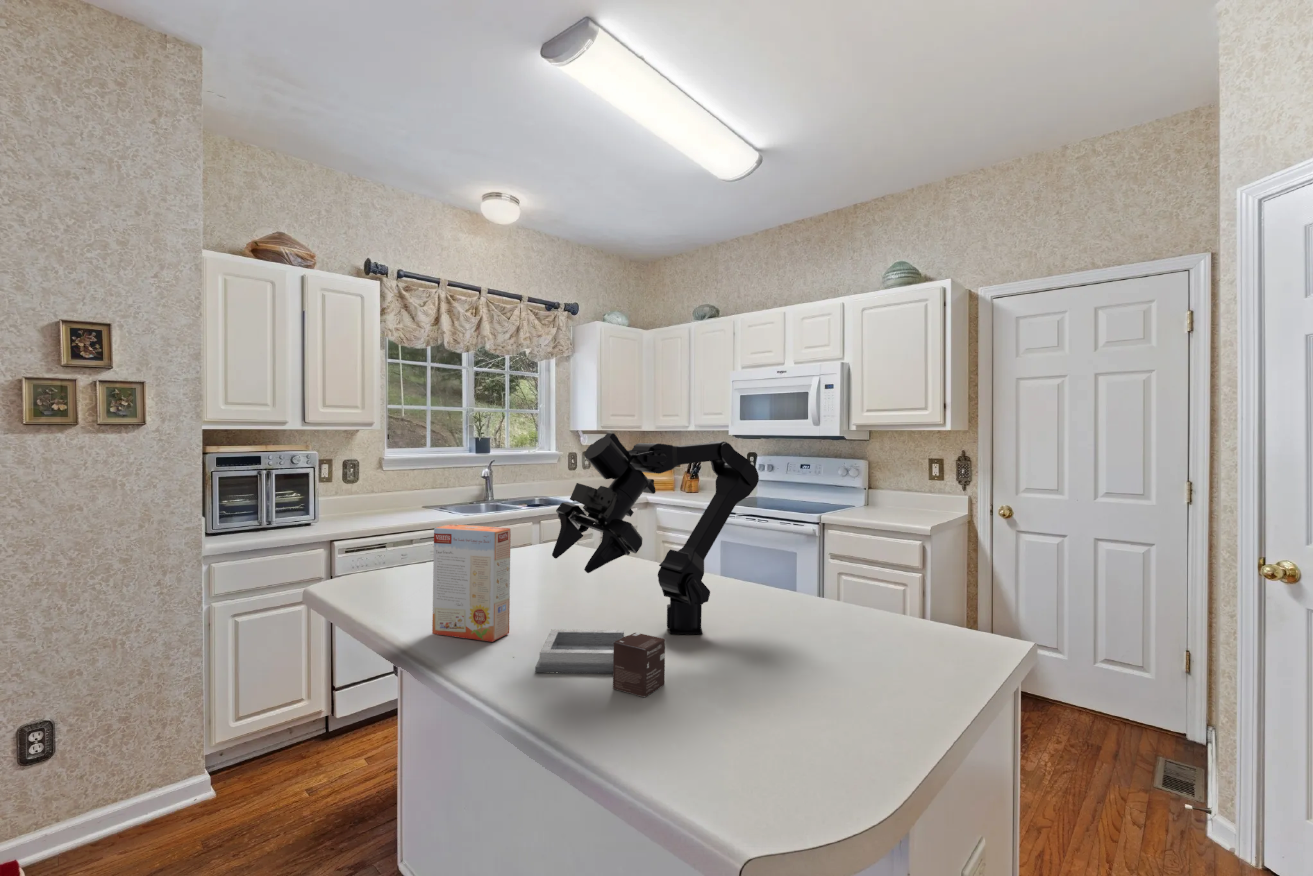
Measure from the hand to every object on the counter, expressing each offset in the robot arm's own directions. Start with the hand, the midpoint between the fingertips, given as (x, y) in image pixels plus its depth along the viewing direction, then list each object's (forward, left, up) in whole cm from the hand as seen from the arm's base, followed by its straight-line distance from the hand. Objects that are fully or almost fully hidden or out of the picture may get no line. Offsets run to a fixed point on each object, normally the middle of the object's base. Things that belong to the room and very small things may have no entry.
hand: (569, 564), depth 104 cm
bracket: (-2, -1, -17) cm, 17 cm away
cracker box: (+21, -13, -17) cm, 29 cm away
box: (-12, +11, -17) cm, 24 cm away
